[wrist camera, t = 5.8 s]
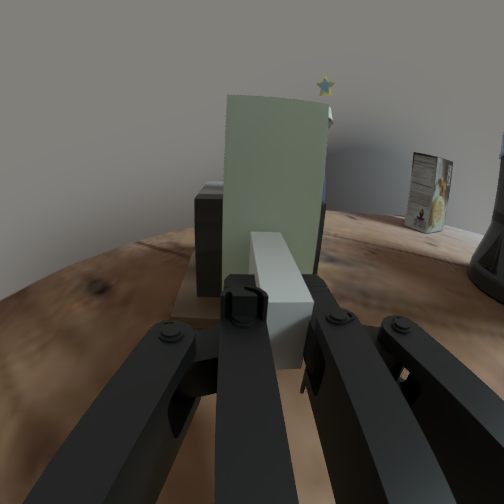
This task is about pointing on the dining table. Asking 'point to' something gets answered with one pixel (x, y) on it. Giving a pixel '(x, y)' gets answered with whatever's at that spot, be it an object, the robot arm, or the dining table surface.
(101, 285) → the dining table surface
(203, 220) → the band guide
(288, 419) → the dining table surface
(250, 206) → the sage block
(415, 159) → the food box
